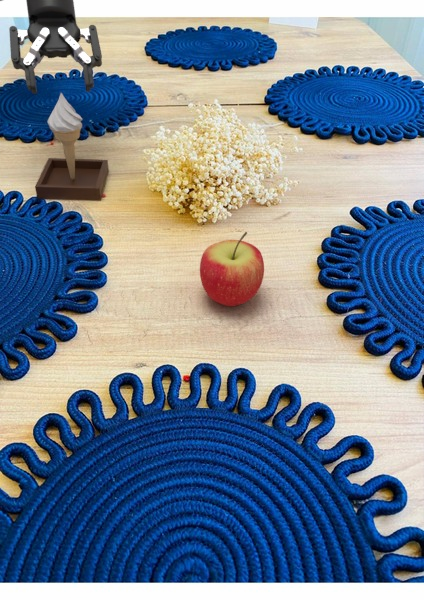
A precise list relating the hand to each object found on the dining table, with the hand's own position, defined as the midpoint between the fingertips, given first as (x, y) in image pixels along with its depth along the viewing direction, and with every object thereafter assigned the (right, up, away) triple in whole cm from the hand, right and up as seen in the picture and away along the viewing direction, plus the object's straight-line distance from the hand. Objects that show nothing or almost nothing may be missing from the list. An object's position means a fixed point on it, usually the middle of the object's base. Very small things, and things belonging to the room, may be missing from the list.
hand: (61, 90), depth 87 cm
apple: (+27, -34, -15) cm, 46 cm away
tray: (0, -14, +7) cm, 15 cm away
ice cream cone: (0, -13, +6) cm, 15 cm away
